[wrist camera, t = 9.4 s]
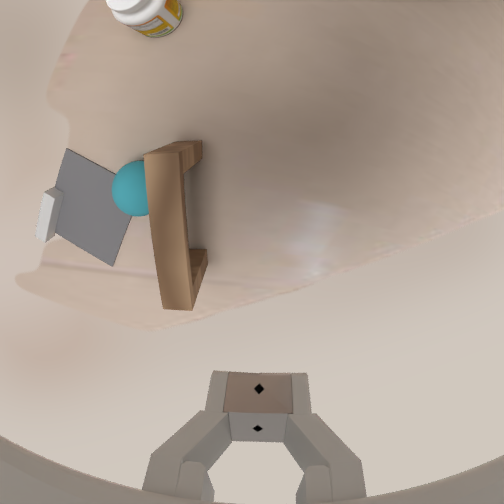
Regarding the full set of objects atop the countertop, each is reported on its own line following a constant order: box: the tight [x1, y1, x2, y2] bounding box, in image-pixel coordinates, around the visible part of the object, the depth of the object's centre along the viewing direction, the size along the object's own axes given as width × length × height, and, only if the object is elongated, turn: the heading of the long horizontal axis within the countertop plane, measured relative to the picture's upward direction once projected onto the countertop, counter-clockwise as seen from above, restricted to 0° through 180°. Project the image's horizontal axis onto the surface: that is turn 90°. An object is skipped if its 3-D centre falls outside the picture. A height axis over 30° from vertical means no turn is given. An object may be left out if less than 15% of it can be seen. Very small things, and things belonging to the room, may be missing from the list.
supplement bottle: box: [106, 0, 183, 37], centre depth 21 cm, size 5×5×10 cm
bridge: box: [144, 141, 208, 311], centre depth 31 cm, size 3×15×10 cm, turn 0°
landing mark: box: [55, 148, 132, 267], centre depth 35 cm, size 12×12×1 cm
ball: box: [112, 161, 149, 216], centre depth 31 cm, size 6×6×6 cm
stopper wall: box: [35, 187, 64, 242], centre depth 35 cm, size 7×2×2 cm, turn 150°
